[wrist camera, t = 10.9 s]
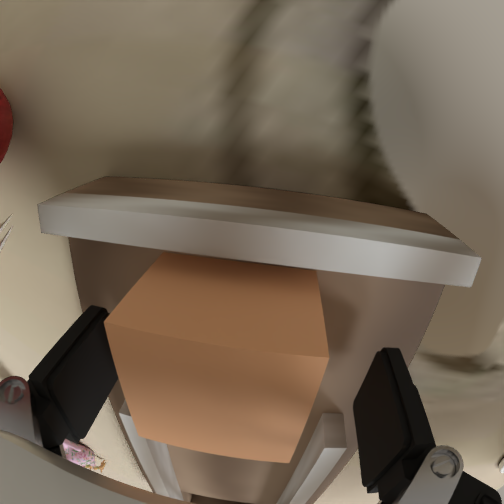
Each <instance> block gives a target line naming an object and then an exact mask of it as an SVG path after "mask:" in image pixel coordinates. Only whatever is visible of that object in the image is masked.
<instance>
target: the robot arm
mask: <svg viewBox="0 0 504 504" xmlns="http://www.w3.org/2000/svg"><path fill="white" fill-rule="evenodd" d="M109 315H110V313H108V311H107V309H106V308H103V307H99V306H95V305H91V306H89V307H88V308H87V309H86V310H85V312H84V313H83V314H82V315H81V316H80V317H79V318H78V319H77V320H76V321H75V322H74V324H73V325H72V326H71V327H70V328H69V329H68V330H67V331H66V333H65V334H64V335H63V336H62V337H61V338H60V339H59V341H58V342H57V343H56V344H55V345H54V346H53V348H52V349H51V350H50V351H49V352H48V353H47V355H46V356H45V357H44V358H43V359H42V361H41V362H40V363H39V364H38V365H37V367H36V368H35V369H34V370H33V371H32V373H31V374H30V375H29V380H28V381H26V380H25V379H23V378H22V377H18V376H11V377H7V378H5V379H4V380H2V381H1V382H0V504H195V503H191V502H186V501H182V500H178V499H174V498H170V497H166V496H163V495H159V494H156V493H152V492H149V491H146V490H142V489H139V488H136V487H133V486H130V485H127V484H124V483H122V482H119V481H116V480H114V479H111V478H108V477H106V476H103V475H101V474H98V473H96V472H94V471H91V470H89V469H87V468H84V467H82V466H80V465H78V464H76V463H73V462H71V461H69V460H67V458H66V455H65V451H64V447H63V442H64V440H65V439H67V440H69V441H71V442H73V443H76V444H78V442H79V441H80V439H83V438H85V436H86V435H87V433H88V431H89V429H90V427H91V426H92V424H93V422H94V420H95V418H96V417H97V415H98V413H99V411H100V410H101V408H102V406H103V404H104V402H105V401H106V399H107V397H108V395H109V394H110V392H111V390H112V389H113V387H114V385H115V383H116V382H117V380H118V374H117V371H116V368H115V364H114V361H113V357H112V353H111V349H110V346H109V342H108V338H107V334H106V330H105V325H104V321H105V320H106V318H107V317H108V316H109ZM353 413H354V420H355V427H356V435H357V442H358V450H359V459H360V468H361V477H362V484H363V486H364V487H367V493H377V492H379V499H380V501H379V502H378V503H377V504H502V503H501V502H502V500H501V497H500V495H499V493H498V492H497V491H496V490H495V489H493V488H491V487H490V486H488V485H486V484H484V483H483V482H481V481H479V480H477V479H476V478H474V477H472V476H471V475H469V474H467V473H466V472H464V471H463V467H464V465H463V459H462V457H461V455H460V454H459V452H458V451H457V450H455V449H454V448H452V447H449V446H442V445H441V446H437V447H436V444H435V441H434V438H433V434H432V431H431V428H430V425H429V422H428V419H427V416H426V413H425V410H424V407H423V404H422V401H421V398H420V395H419V392H418V390H417V388H416V386H415V385H414V384H413V382H412V379H411V376H410V374H409V371H408V368H407V366H406V363H405V361H404V358H403V355H402V353H401V350H400V349H399V348H390V347H383V348H382V349H381V351H377V352H376V354H375V356H374V359H373V361H372V363H371V365H370V368H369V370H368V372H367V374H366V376H365V379H364V381H363V383H362V385H361V387H360V389H359V391H358V393H357V395H356V397H355V399H354V402H353ZM498 468H499V471H500V473H504V458H503V460H502V461H501V462H500V464H499V467H498Z"/></svg>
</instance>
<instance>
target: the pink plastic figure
mask: <svg viewBox="0 0 504 504" xmlns="http://www.w3.org/2000/svg"><path fill="white" fill-rule="evenodd" d="M63 447H64V451H65V455H66V458H67V460H69V461H71V462H73V463H76V464H79V465H82V467H84V468H89V467H90V470H91V468H93V469H94V470H96V469H101V473H102V470H103V469H104V466H105V463H106V462H105V463H104V461H105V460H104V461H103V462H101V466H99V467H97V466H96V464H95V454H94V452H93V451H92V450H91V449H89V448H87V447H85V446H82V445H80V444H76V443H73V442H71V441H69V440H67V439H65V440H64V442H63ZM86 464H89V465H86Z"/></svg>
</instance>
